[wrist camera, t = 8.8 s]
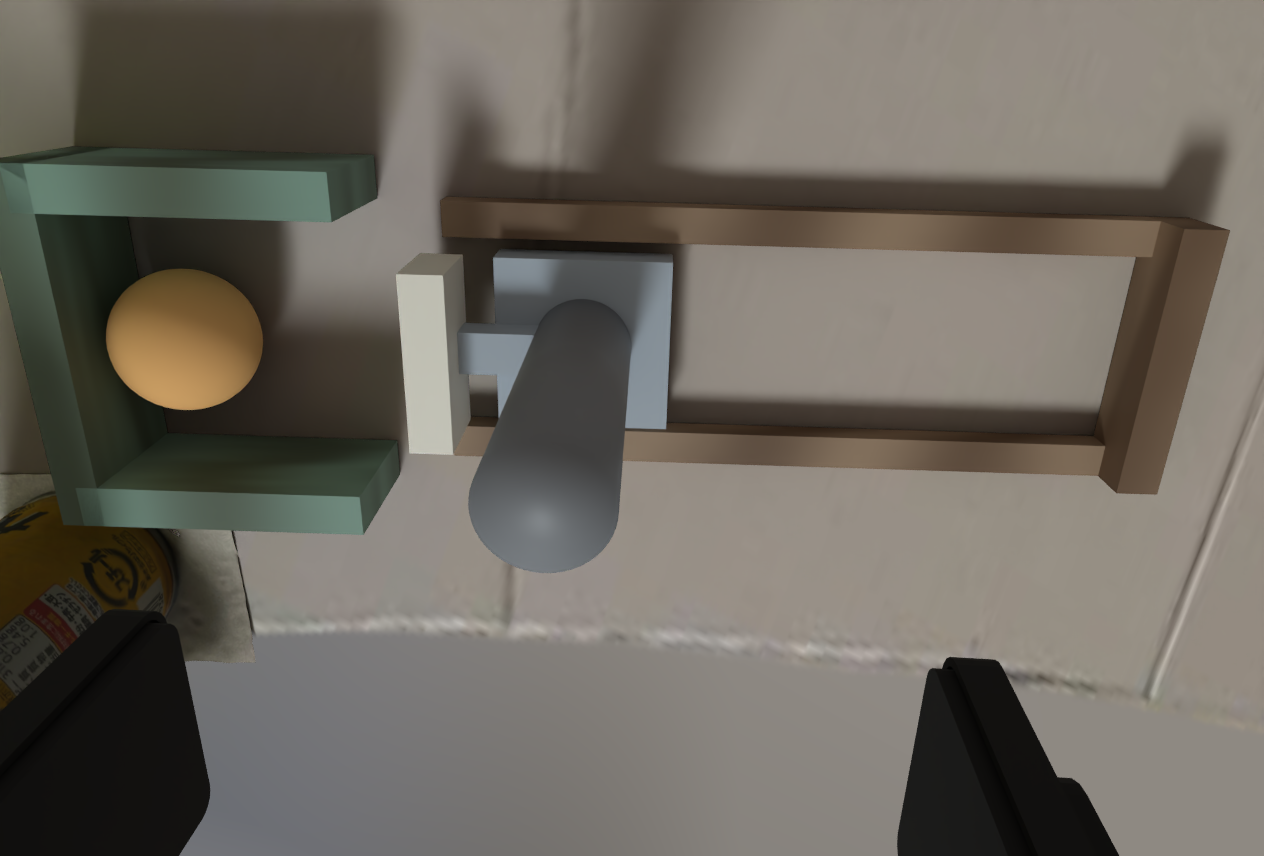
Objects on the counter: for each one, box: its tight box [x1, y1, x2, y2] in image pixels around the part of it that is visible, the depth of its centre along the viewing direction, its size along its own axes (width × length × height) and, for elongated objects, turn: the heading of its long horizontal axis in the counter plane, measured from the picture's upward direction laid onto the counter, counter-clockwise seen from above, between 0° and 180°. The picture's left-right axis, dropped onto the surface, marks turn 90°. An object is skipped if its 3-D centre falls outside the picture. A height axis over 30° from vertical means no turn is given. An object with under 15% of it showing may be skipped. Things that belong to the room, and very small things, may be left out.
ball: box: [106, 269, 263, 410], centre depth 26 cm, size 4×4×4 cm
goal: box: [0, 147, 400, 535], centre depth 26 cm, size 9×10×4 cm
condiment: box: [0, 474, 255, 712], centre depth 26 cm, size 7×8×12 cm
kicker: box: [396, 249, 673, 573], centre depth 22 cm, size 7×5×11 cm
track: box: [440, 197, 1230, 494], centre depth 26 cm, size 21×8×2 cm, turn 89°
